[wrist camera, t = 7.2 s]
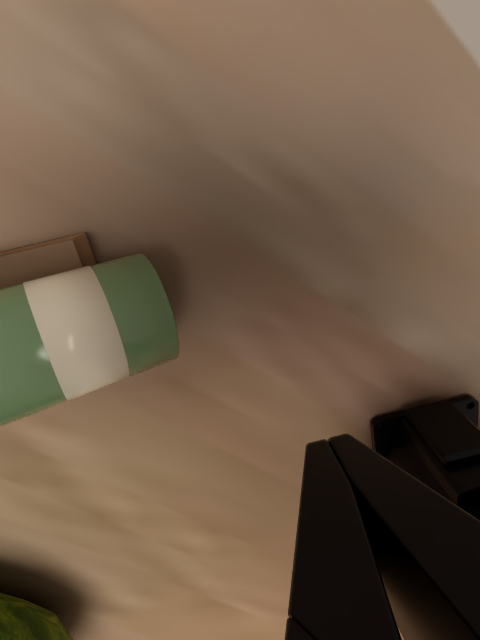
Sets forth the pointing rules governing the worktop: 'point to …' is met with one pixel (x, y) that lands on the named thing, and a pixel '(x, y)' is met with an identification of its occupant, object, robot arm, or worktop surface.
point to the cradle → (45, 259)
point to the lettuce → (28, 621)
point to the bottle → (81, 333)
